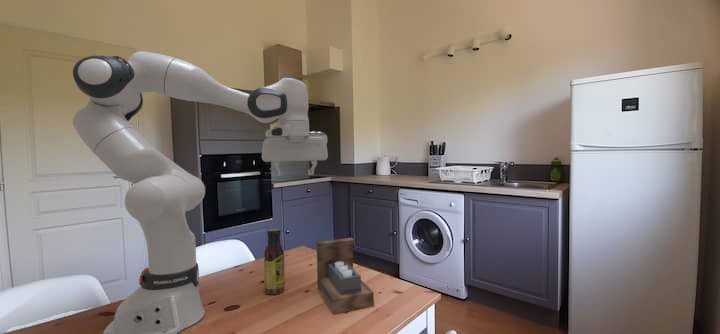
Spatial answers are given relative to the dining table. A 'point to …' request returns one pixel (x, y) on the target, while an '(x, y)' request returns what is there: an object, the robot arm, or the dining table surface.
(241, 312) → the dining table surface
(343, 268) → the grey egg holder
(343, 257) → the walnut shelf
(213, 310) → the dining table surface
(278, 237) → the sauce bottle
